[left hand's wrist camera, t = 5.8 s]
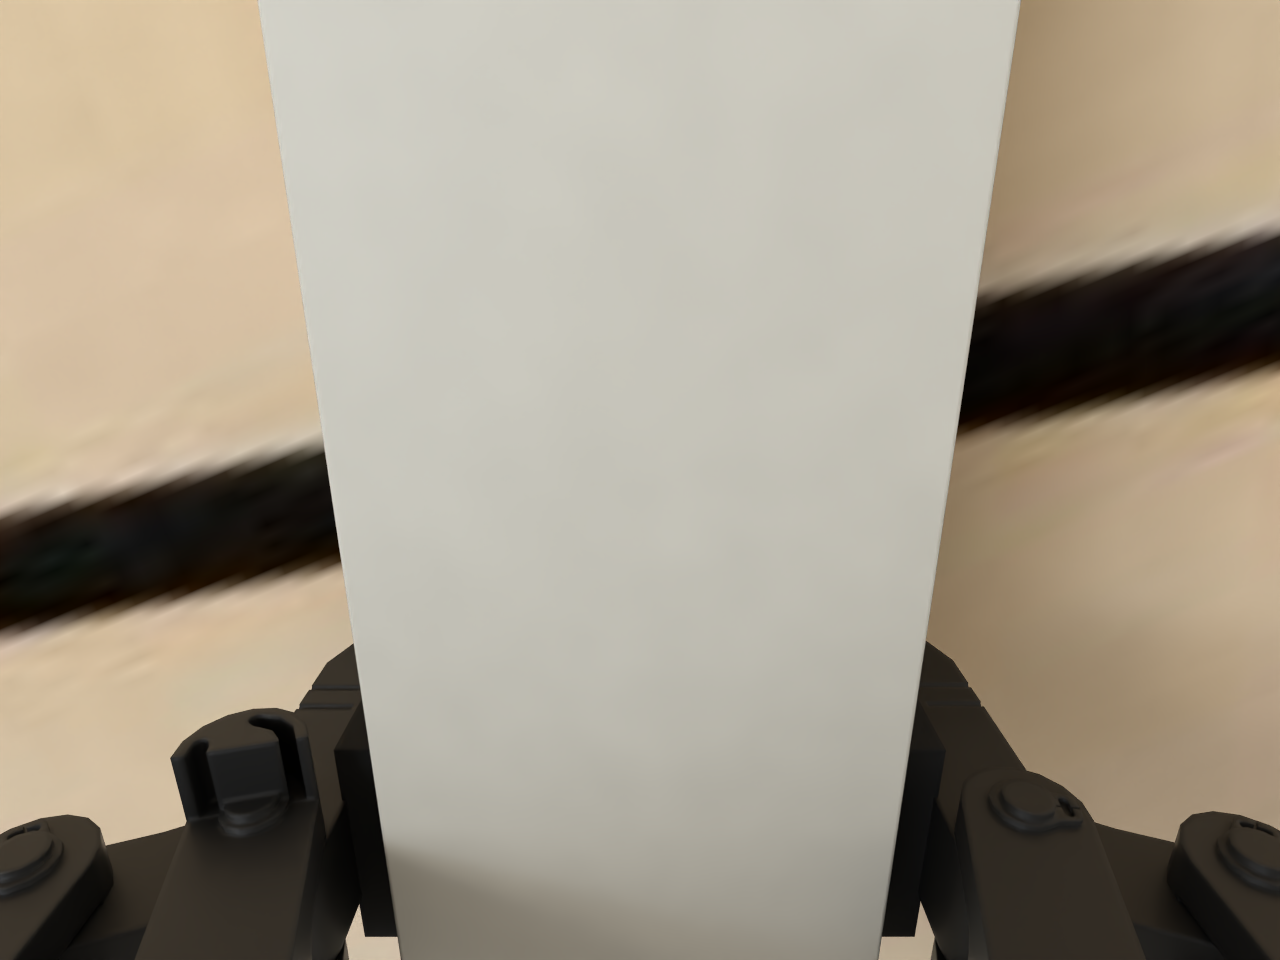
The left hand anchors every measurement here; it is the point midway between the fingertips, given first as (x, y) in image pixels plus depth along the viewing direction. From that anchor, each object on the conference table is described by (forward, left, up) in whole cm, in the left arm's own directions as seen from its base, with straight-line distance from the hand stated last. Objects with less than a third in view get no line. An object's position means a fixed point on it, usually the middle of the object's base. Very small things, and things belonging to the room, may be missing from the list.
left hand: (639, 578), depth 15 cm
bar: (+29, +13, -1) cm, 32 cm away
